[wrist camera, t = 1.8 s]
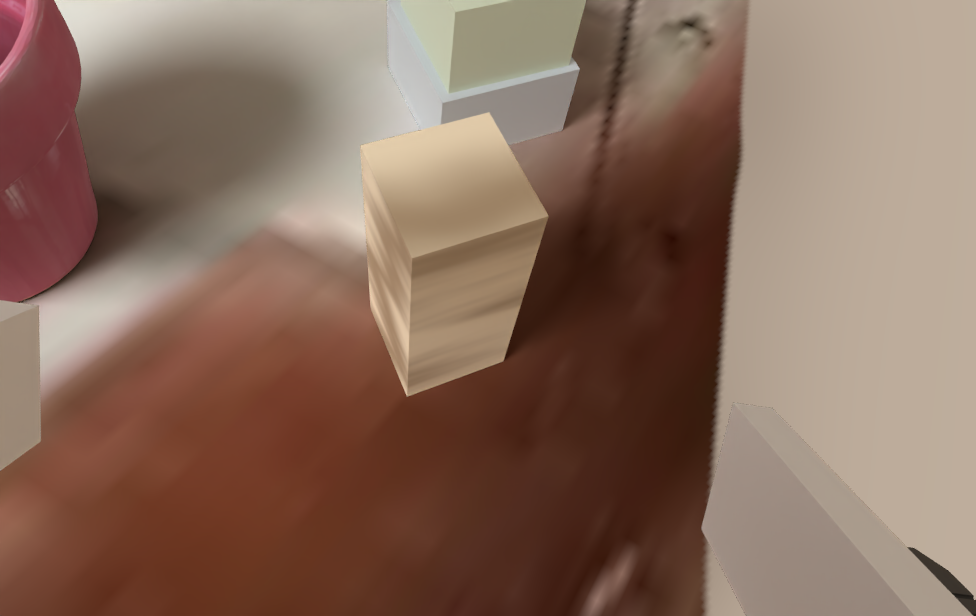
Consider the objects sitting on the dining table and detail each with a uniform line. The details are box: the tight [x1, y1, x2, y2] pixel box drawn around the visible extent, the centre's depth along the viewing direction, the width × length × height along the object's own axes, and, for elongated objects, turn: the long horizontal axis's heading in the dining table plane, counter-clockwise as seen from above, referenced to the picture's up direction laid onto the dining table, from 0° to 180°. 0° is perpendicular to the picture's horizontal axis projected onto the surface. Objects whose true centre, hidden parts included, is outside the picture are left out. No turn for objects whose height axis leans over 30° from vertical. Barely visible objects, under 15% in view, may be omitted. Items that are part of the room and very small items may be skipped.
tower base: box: [387, 0, 580, 145], centre depth 41 cm, size 8×8×5 cm
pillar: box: [360, 112, 548, 396], centre depth 30 cm, size 5×5×12 cm
